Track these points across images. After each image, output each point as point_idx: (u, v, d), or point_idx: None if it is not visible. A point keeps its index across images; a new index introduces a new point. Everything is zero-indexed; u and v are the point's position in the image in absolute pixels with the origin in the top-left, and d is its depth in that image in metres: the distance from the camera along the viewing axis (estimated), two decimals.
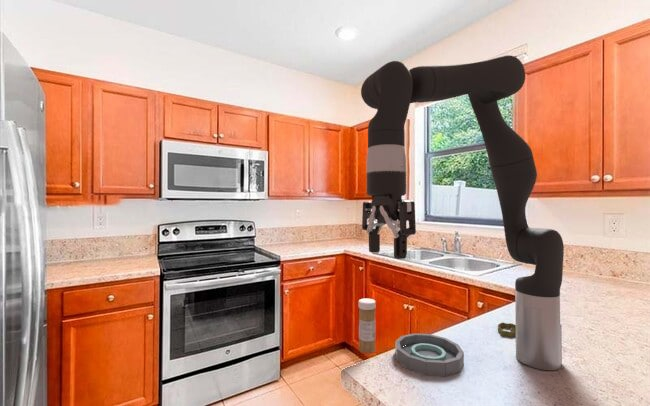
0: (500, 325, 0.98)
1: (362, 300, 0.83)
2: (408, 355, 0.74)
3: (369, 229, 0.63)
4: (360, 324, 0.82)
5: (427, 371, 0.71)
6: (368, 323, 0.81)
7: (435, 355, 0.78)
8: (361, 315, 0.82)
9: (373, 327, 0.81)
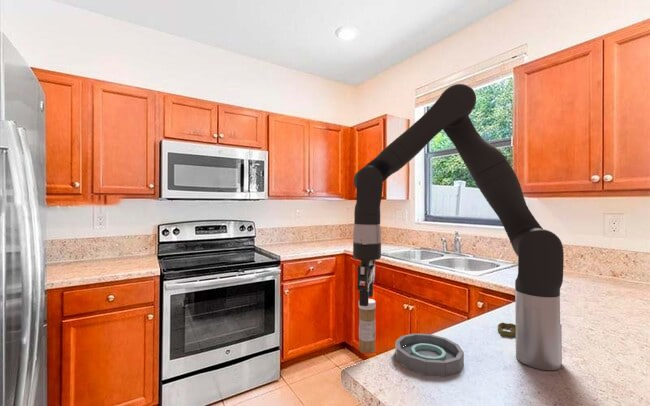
0: (500, 325, 0.98)
1: None
2: (408, 355, 0.74)
3: (368, 287, 0.79)
4: (360, 324, 0.82)
5: (427, 371, 0.71)
6: (368, 323, 0.81)
7: (435, 355, 0.78)
8: (361, 315, 0.82)
9: (373, 327, 0.81)
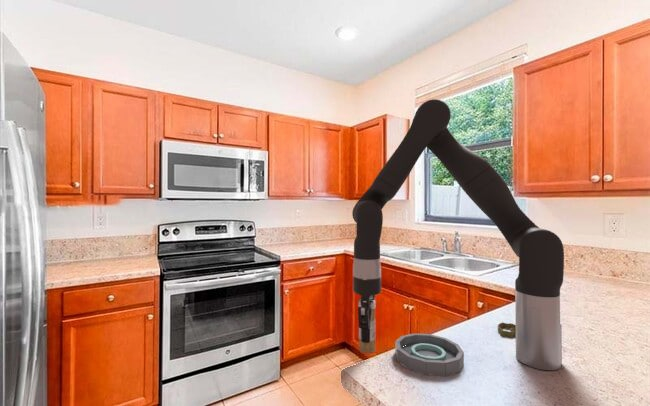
0: (500, 325, 0.98)
1: None
2: (408, 355, 0.74)
3: None
4: None
5: (427, 371, 0.71)
6: None
7: (435, 355, 0.78)
8: None
9: (373, 327, 0.81)
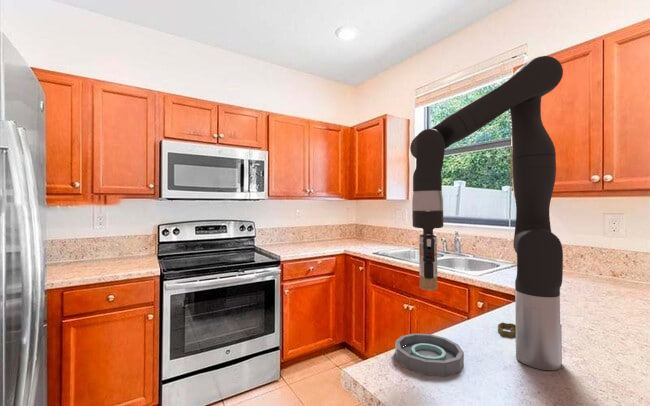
0: (500, 325, 0.98)
1: None
2: (408, 355, 0.74)
3: None
4: (422, 260, 0.78)
5: (427, 371, 0.71)
6: None
7: (435, 355, 0.78)
8: None
9: (436, 263, 0.77)
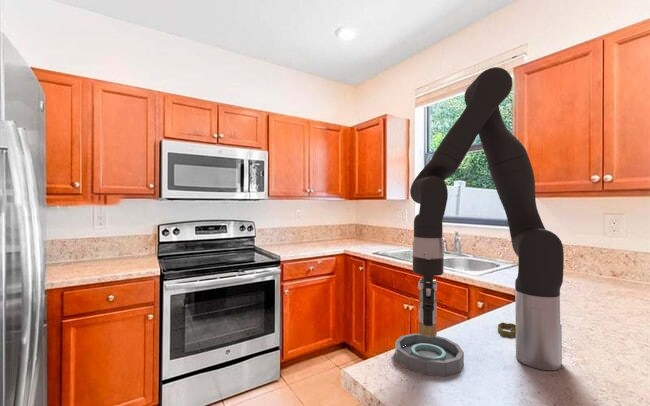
0: (500, 325, 0.98)
1: None
2: (408, 355, 0.74)
3: None
4: (421, 307, 0.78)
5: (427, 371, 0.71)
6: None
7: (435, 355, 0.78)
8: None
9: (435, 309, 0.77)
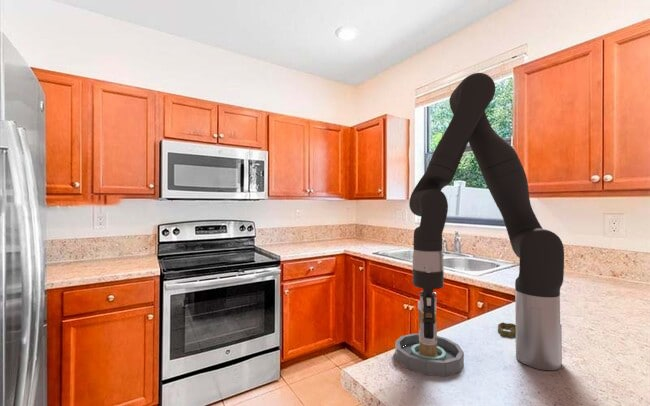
0: (500, 325, 0.98)
1: None
2: (408, 355, 0.74)
3: None
4: (421, 327, 0.78)
5: (427, 371, 0.71)
6: None
7: None
8: (422, 318, 0.77)
9: (435, 330, 0.77)
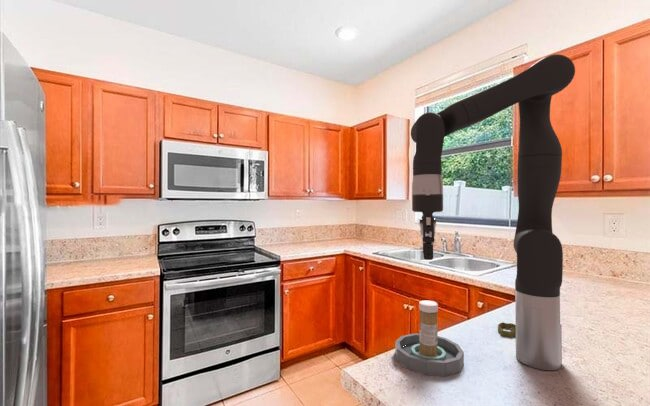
0: (500, 325, 0.98)
1: (423, 302, 0.78)
2: (408, 355, 0.74)
3: None
4: (422, 328, 0.77)
5: (427, 371, 0.71)
6: (431, 327, 0.76)
7: None
8: (423, 318, 0.77)
9: (436, 331, 0.77)
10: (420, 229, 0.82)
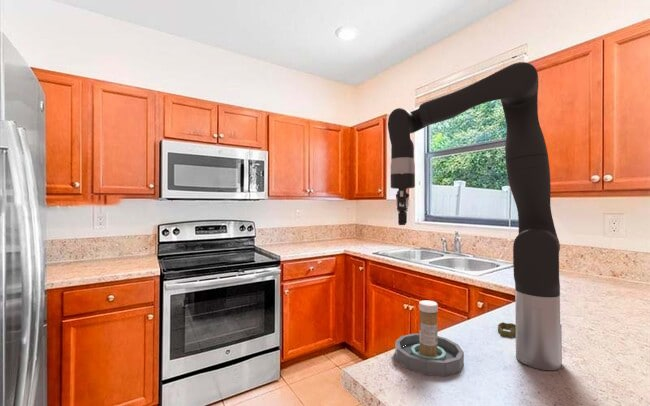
0: (500, 325, 0.98)
1: (423, 302, 0.78)
2: (408, 355, 0.74)
3: (406, 209, 0.93)
4: (422, 328, 0.77)
5: (427, 371, 0.71)
6: (431, 327, 0.76)
7: None
8: (423, 318, 0.77)
9: (436, 331, 0.77)
10: None
